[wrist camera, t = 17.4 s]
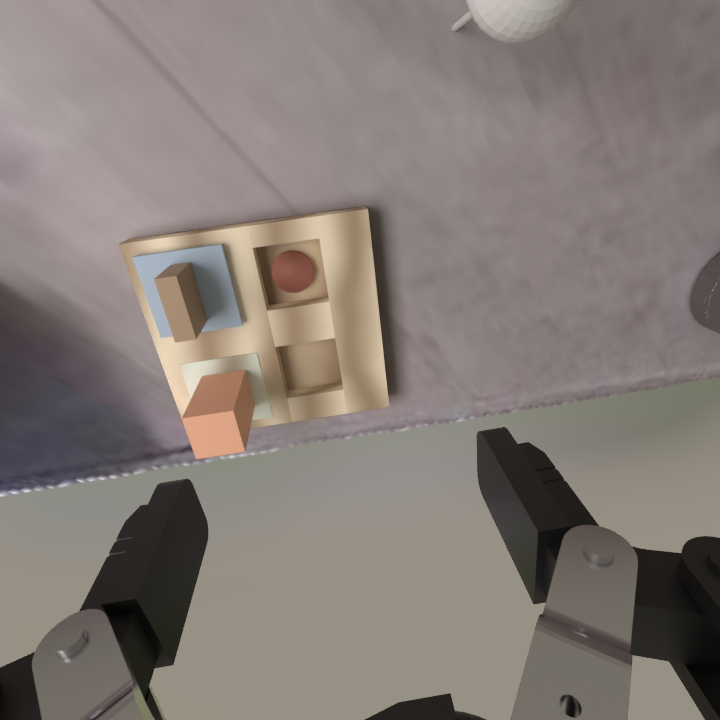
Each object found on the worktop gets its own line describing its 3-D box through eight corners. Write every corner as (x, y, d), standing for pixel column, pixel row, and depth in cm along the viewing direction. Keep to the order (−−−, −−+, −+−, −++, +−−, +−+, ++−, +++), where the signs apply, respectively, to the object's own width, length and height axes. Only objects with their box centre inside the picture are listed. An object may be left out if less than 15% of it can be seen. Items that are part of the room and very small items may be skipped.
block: (245, 369, 41) (233, 410, 34) (255, 406, 42) (245, 451, 36) (201, 376, 40) (181, 418, 34) (213, 412, 42) (196, 459, 36)
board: (365, 205, 37) (368, 209, 35) (386, 396, 46) (389, 407, 44) (127, 239, 37) (117, 244, 35) (193, 426, 45) (188, 438, 43)
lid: (222, 243, 35) (210, 256, 31) (243, 323, 38) (234, 346, 34) (134, 255, 35) (110, 270, 31) (162, 336, 38) (144, 359, 34)
